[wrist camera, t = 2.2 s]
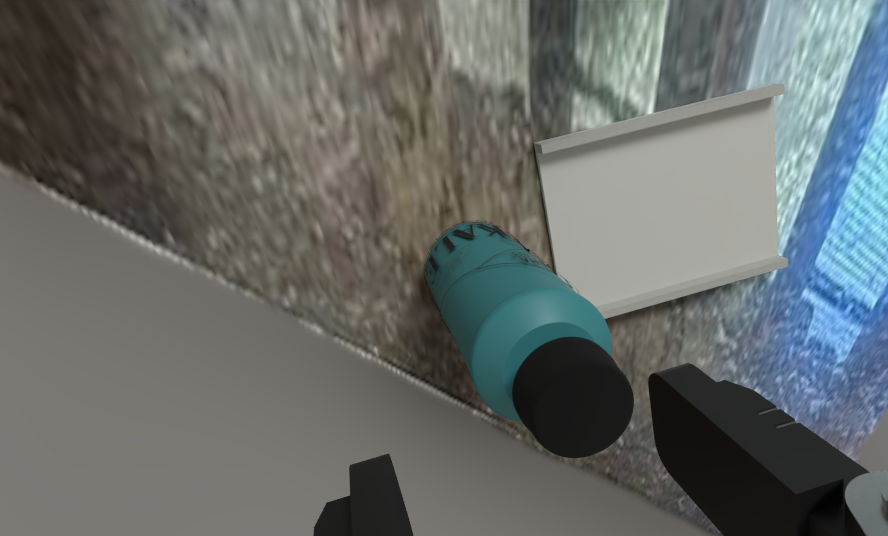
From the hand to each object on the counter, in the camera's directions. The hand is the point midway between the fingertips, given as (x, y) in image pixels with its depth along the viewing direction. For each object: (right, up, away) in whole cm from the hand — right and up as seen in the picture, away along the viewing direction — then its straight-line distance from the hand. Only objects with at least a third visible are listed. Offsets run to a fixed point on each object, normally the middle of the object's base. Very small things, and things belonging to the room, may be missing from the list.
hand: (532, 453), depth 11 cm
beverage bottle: (0, +4, +28) cm, 28 cm away
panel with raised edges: (+14, +8, +29) cm, 33 cm away
